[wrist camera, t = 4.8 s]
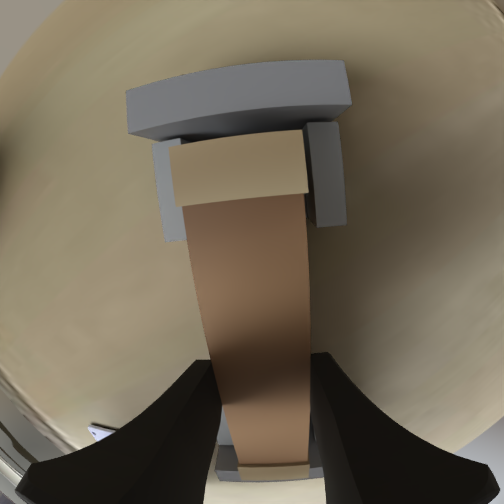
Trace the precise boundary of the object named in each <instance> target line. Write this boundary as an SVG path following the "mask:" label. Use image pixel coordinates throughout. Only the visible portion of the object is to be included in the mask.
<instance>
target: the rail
mask: <svg viewBox="0 0 504 504" xmlns="http://www.w3.org/2000/svg"><path fill="white" fill-rule="evenodd" d="M168 148H169V157H170V166H171V175H172V183H173V190H174V198H175V205H176V207H181V206H182V211H183V218H184V225H185V231H186V237H187V244H188V250H189V255H190V261H191V267H192V272H193V278H194V283H195V288H196V294H197V299H198V304H199V309H200V313H201V318H202V323H203V328H204V332H205V337H206V341H207V346H208V350H209V354H210V359H211V362H212V366H213V370H214V374H215V378H216V382H217V386H218V390H219V394H220V398H221V401H222V406H223V410H224V413H225V417H226V420H227V424H228V427H229V431H230V434H231V438H232V441H233V444H234V448H235V451H236V454H237V457H238V465H237V468H238V471H239V474H240V477H241V480H252V481H259V480H288V479H301V478H309V468H310V461H309V450H308V443H309V423H310V356H311V321H310V286H309V263H308V245H307V229H306V215H305V203H304V193H309V192H308V181H307V170H306V160H305V151H304V142H303V134H302V130H289V131H276V132H265V133H256V134H247V135H239V136H231V137H224V138H217V139H211V140H204V141H198V142H193V143H187V144H182V145H177V146H172V147H168Z"/></svg>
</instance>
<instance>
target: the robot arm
mask: <svg viewBox="0 0 504 504" xmlns="http://www.w3.org/2000/svg"><path fill="white" fill-rule="evenodd" d="M310 407H311V417H312V423H313V428H314V432H315V437H316V441H317V446H318V450H319V455H320V459H321V464H322V468H323V474H324V480H325V492H326V504H488V503H489V502H491V501H492V500H493V499H494V498H495V497H496V496H497V495H498V493H499V491H500V488H499V486H498V483H497V481H496V479H495V477H494V475H493V473H492V471H491V470H490V468H489V467H488V465H486V464H482V463H479V462H475V461H472V460H469V459H465V458H463V457H459V456H456V455H454V454H452V453H449V452H447V451H445V450H442V449H440V448H438V447H436V446H434V445H432V444H430V443H428V442H427V441H425V440H423V439H421V438H419V437H418V436H416V435H414V434H412V433H411V432H409V431H408V430H406V429H405V428H404V427H402V426H401V425H399V424H398V423H396V422H395V421H394V420H392V419H391V418H390V417H389V416H387V415H386V414H385V413H384V412H383V411H381V410H380V409H379V408H378V407H377V406H376V405H375V404H374V403H372V402H371V401H370V400H369V399H368V398H367V397H366V396H365V395H364V394H363V393H362V392H361V391H360V390H359V389H358V387H357V386H356V385H355V384H354V383H353V382H352V381H351V380H350V379H349V378H348V376H347V375H346V374H345V373H344V372H343V370H342V369H341V368H340V367H339V365H338V364H337V363H336V361H335V360H334V359H333V357H332V356H331V354H329V353H328V352H324V353H315V354H311V356H310ZM221 414H222V401H221V398H220V394H219V390H218V386H217V382H216V378H215V374H214V370H213V366H212V362H211V360H195V361H194V363H193V364H192V365H191V366H190V367H189V368H188V369H187V370H186V371H185V372H184V373H183V374H182V375H181V376H180V377H179V378H178V379H177V380H176V381H175V382H174V383H173V384H172V385H171V386H170V387H169V388H168V389H167V390H166V391H165V392H164V393H163V394H162V395H161V396H160V397H159V398H158V399H157V400H156V401H155V402H154V403H152V404H151V405H150V406H149V407H148V408H147V409H146V410H144V411H143V412H142V413H141V414H140V415H138V416H137V417H136V418H134V419H133V420H132V421H130V422H129V423H127V424H126V425H124V426H123V427H122V428H120V429H119V430H117V431H114V430H110V429H106V428H102V427H98V426H94V425H89V426H88V429H89V431H90V432H91V434H92V435H93V436H94V438H95V439H96V441H97V442H95V443H94V444H92V445H89V446H87V447H85V448H83V449H80V450H78V451H75V452H73V453H70V454H67V455H64V456H61V457H58V458H54V459H51V460H47V461H43V462H38V463H33V464H31V465H30V467H29V468H28V470H27V471H26V473H25V474H24V476H23V478H22V479H21V481H20V482H19V484H18V485H17V487H16V489H15V493H16V494H17V495H18V496H19V497H20V498H21V499H22V500H23V501H25V502H26V503H27V504H203V501H204V493H205V485H206V479H207V475H208V470H209V467H210V463H211V459H212V455H213V451H214V447H215V444H216V440H217V436H218V432H219V427H220V423H221ZM0 504H15V503H14V502H13V501H12V500H10V499H9V498H8V497H7V496H6V495H5V494H3V493H2V492H1V491H0Z"/></svg>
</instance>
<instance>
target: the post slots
mask: <svg viewBox="0 0 504 504" xmlns="http://www.w3.org/2000/svg"><path fill="white" fill-rule="evenodd" d="M126 104H127V124H128V134H132V135H136V136H140V137H144V138H148V139H152V140H156V141H159V143H155V144H152V151H153V160H154V169H155V178H156V186H157V193H158V200H159V207H160V214H161V220H162V227H163V233H164V238H165V242H172V241H181V240H187V237H186V231H185V225H184V218H183V211H182V206H181V207H176V205H175V198H174V190H173V183H172V175H171V166H170V157H169V148H168V147H172V146H177V145H182V144H187V143H193V142H198V141H204V140H211V139H217V138H224V137H231V136H239V135H247V134H256V133H265V132H276V131H289V130H302V134H303V142H304V151H305V160H306V170H307V181H308V192H309V193H304V203H305V215H306V218H307V217H308V218H309V219H310V220H311V222H312V223H313V224H314V225H315V226H316V227H330V226H342V225H347V215H346V197H345V183H344V171H343V160H342V150H341V142H340V133H339V125H338V122H332V121H333V120H334V119H335V118H336V117H338V116H339V115H340V114H341V113H343V112H344V111H345V110H346V109H347V108H349V107H350V106H351V105H352V101H351V95H350V89H349V84H348V79H347V74H346V69H345V64H344V60H289V61H273V62H261V63H251V64H243V65H235V66H228V67H222V68H216V69H210V70H205V71H199V72H194V73H190V74H185V75H181V76H177V77H172V78H168V79H165V80H161V81H157V82H153V83H150V84H147V85H143V86H140V87H137V88H133V89H130V90H127V91H126ZM217 442H218V444H219V450H218V455H217V461H216V466H215V472H216V474H217V476H218V478H219V480H220V481H229V482H278V481H294V480H305V479H314V478H322V477H324V474H323V468H322V464H321V459H320V455H319V450H318V446H317V441H316V437H315V432H314V428H313V423H312V417H311V407H310V423H309V443H308V450H309V461H310V468H309V478H301V479H288V480H259V481H252V480H241V477H240V474H239V471H238V468H237V465H238V457H237V454H236V451H235V448H234V444H233V441H232V438H231V434H230V431H229V427H228V424H227V420H226V417H225V413H224V410H223V406H222V414H221V423H220V427H219V432H218V436H217Z"/></svg>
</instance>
